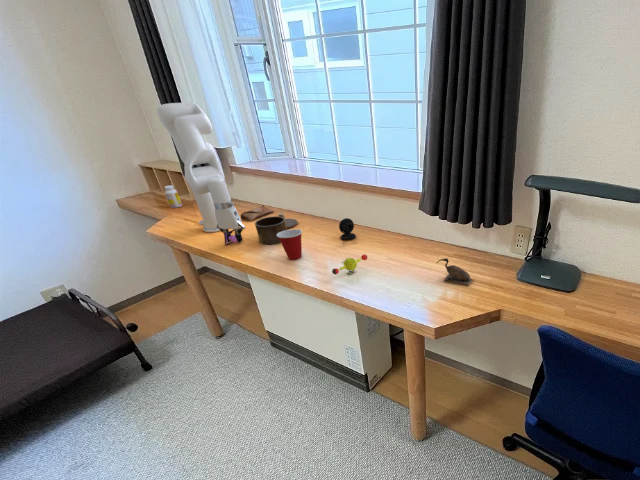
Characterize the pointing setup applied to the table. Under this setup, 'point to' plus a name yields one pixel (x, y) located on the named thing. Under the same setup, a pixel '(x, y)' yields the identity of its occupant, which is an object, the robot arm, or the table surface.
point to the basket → (270, 229)
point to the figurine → (456, 274)
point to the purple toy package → (230, 237)
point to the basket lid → (288, 221)
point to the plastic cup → (291, 243)
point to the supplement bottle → (173, 197)
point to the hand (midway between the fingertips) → (235, 240)
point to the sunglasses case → (255, 213)
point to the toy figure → (349, 264)
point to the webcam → (347, 229)
